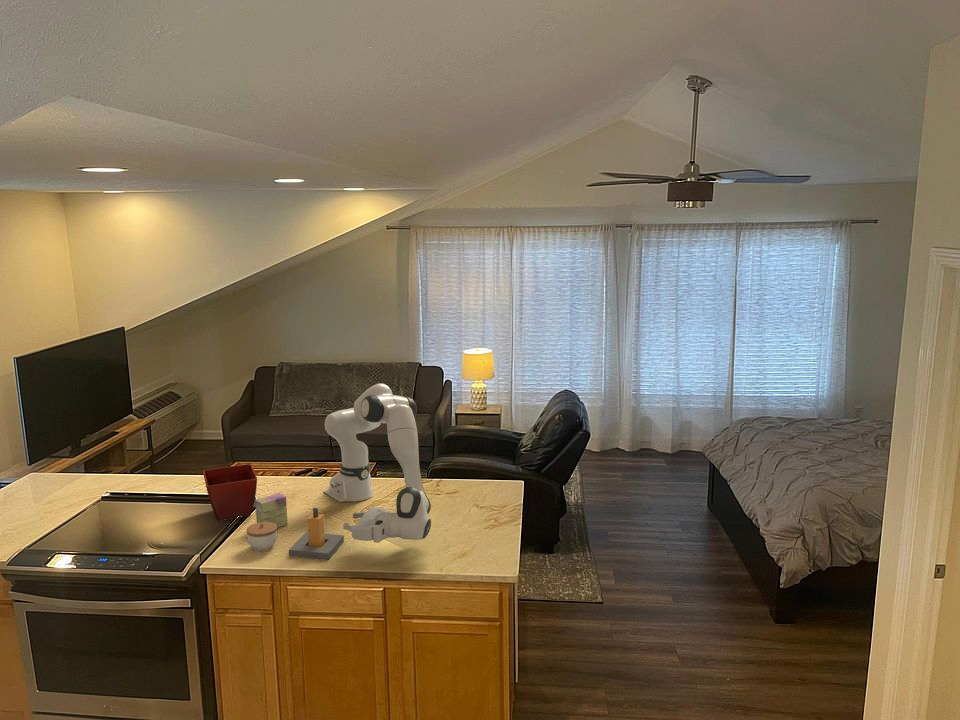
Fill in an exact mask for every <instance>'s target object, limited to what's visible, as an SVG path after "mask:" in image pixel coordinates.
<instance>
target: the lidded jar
mask: <svg viewBox="0 0 960 720" xmlns="http://www.w3.org/2000/svg"><path fill="white" fill-rule="evenodd" d="M246 537H247V542H248V545H250V547H252V549H254V550H255V551H257V552H266V551H268V550H270V549H272V547H273V546H274V545H275V543H276V541H277V538H278V528H277V525H276V524H275V523H272V522H259V523H257V522H255V523H253V524H250V525H249V526H248V527H247V528H246Z"/></svg>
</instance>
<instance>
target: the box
mask: <svg viewBox="0 0 960 720" xmlns="http://www.w3.org/2000/svg"><path fill="white" fill-rule="evenodd" d="M254 505H255V517H256V523H259V522H272V523H275V524H276V525H277V529H278V528H281V527H284V526H288V511H287V510H288V507H287V496H286V495H284V494H282V493H279V492H278V493H274V494H270V495H267V496H264V497H261V498H255V501H254Z"/></svg>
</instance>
